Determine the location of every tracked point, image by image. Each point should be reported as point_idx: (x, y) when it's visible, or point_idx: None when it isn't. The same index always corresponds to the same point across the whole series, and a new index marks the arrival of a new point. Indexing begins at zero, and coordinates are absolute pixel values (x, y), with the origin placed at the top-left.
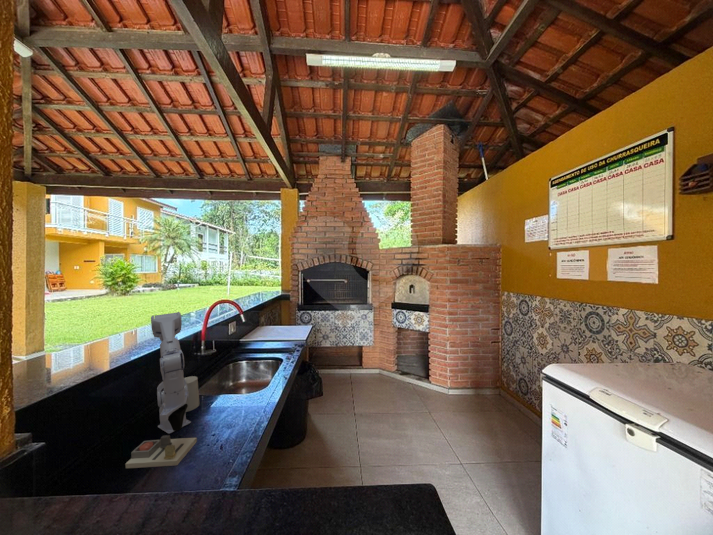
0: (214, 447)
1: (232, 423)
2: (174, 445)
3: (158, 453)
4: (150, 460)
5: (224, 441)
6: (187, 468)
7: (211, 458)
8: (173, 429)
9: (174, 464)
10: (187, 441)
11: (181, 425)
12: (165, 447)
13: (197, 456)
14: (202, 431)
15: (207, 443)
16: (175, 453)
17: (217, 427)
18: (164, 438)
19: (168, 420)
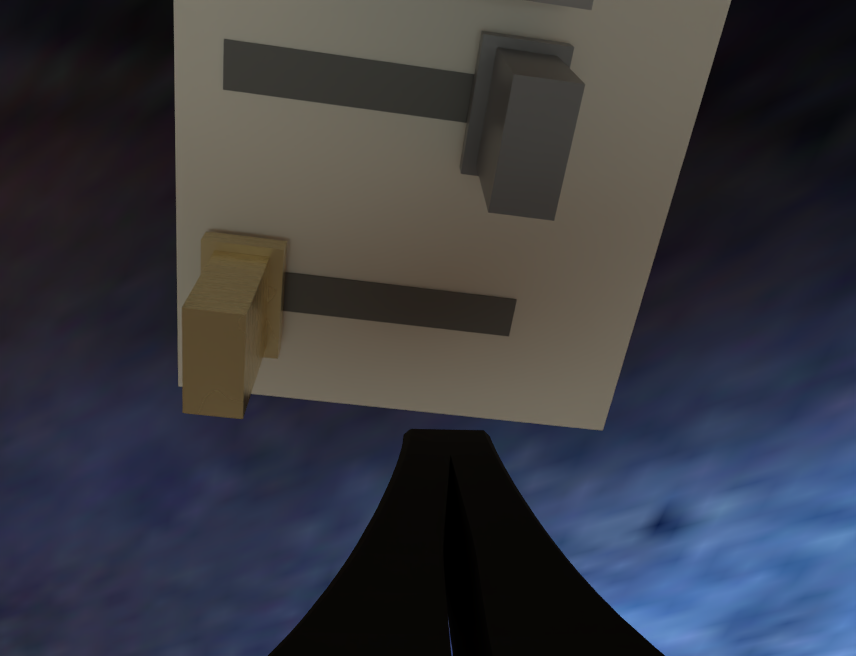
0: None
1: (814, 630)
2: (240, 415)
3: (362, 66)
4: (215, 23)
5: None
6: (138, 472)
7: (260, 614)
8: (400, 453)
9: None
10: (550, 354)
11: (445, 583)
12: (196, 314)
13: (311, 494)
14: (803, 384)
15: None
16: (266, 351)
17: (809, 517)
18: (500, 145)
19: (321, 598)
